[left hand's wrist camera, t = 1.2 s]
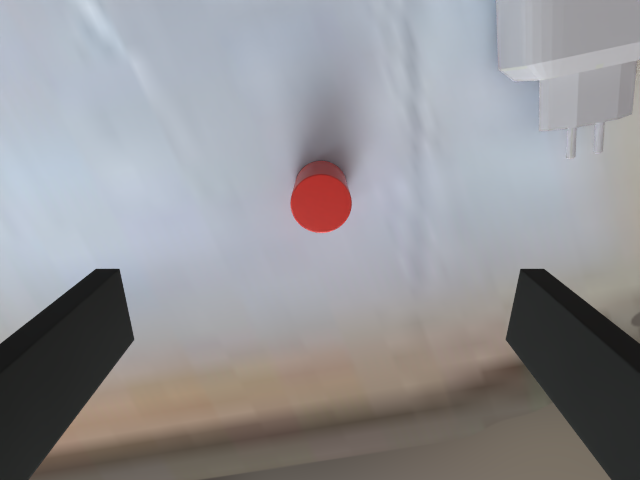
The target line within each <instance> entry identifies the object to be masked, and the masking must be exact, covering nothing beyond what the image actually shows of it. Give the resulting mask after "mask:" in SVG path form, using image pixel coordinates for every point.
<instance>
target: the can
mask: <svg viewBox="0 0 640 480" xmlns="http://www.w3.org/2000/svg"><path fill="white" fill-rule="evenodd" d="M351 206H352V201H351V196H350V192H349V189H348V185H347V182H346V178H345V176H344V174H343V172H342V171H341V169H340V168H339V167H337V166H336V165H335V164H333V163H330V162H327V161H315V162H311V163H309V164H308V165H306V166H305V167H303V168H302V170H301V171H300V172H299V174H298V176H297V178H296V182H295V185H294V189H293V192H292V196H291V211H292V214H293V216H294V218H295V219H296V221H297V222H298V223H299V224H300V225H301V226H302V227H304V228H305V229H307V230H309V231H312V232H316V233H325V232H330V231H333V230H335V229H337V228H339V227H340V226H341V225H342V224H343V223H344V222H345V221H346V220H347V218H348V216H349V214H350V211H351Z"/></svg>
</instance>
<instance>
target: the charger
mask: <svg viewBox="0 0 640 480" xmlns="http://www.w3.org/2000/svg"><path fill="white" fill-rule="evenodd" d="M496 17H497V52H498V70H500V71H501V72H502V73H503V74H505V75H506V76H507V77H509V78H510V79H511V80H512V81H514V82H518V81H538V80H539V131H552V130H560V129H567V149H566V158H568V159H573V158H574V157H575V153H576V130H577V127H582V126H587V125H592V124H595V132H594V149H593V152H594V153H596V154H599V153H601V152H602V151H603V140H604V125H605V122H607V121H612V120H617V119H620V118H622V117H625V116H628V115H631V114H632V109H633V99H634V88H635V77H636V66H637V60H640V0H496Z"/></svg>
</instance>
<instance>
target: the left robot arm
mask: <svg viewBox="0 0 640 480" xmlns="http://www.w3.org/2000/svg"><path fill="white" fill-rule="evenodd" d="M133 341H134V336H133V331H132V326H131V322H130V317H129V312H128V307H127V303H126V298H125V293H124V288H123V284H122V279H121V274H120V269H95V270H94V271H93V272H91V273H90V274H89V275H88V276H86V277H85V278H84V279H83V280H81V281H80V282H79V283H77V284H76V285H75V286H74V287H72V288H71V289H70V290H68V291H67V292H66V293H65V294H63V295H62V296H61V297H60V298H58V299H57V300H56V301H54V302H53V303H52V304H51V305H49V306H48V307H47V308H45V309H44V310H43V311H42V312H40V313H39V314H38V315H37V316H35V317H34V318H33V319H31V320H30V321H29V322H28V323H26V324H25V325H24V326H22V327H21V328H20V329H19V330H17V331H16V332H15V333H14V334H12V335H11V336H10V337H8V338H7V339H6V340H5V341H3V342H2V343H1V344H0V480H29V478H30V477H31V476H32V474H33V473H34V472H35V470H36V469H37V468H38V466H39V465H40V464H41V462H42V461H43V460H44V458H45V457H46V456H47V454H48V453H49V452H50V451H51V449H52V448H53V447H54V445H55V444H56V443H57V441H58V440H59V439H60V437H61V436H62V435H63V433H64V432H65V431H66V429H67V428H68V427H69V425H70V424H71V423H72V421H73V420H74V419H75V417H76V416H77V415H78V413H79V412H80V411H81V409H82V408H83V407H84V405H85V404H86V403H87V402H88V400H89V399H90V398H91V396H92V395H93V394H94V392H95V391H96V390H97V388H98V387H99V386H100V384H101V383H102V382H103V380H104V379H105V378H106V376H107V375H108V374H109V372H110V371H111V370H112V368H113V367H114V366H115V364H116V363H117V362H118V360H119V359H120V358H121V356H122V355H123V354H124V353H125V351H126V350H127V349H128V347H129V346H130V345H131V343H132V342H133ZM506 341H507V342H508V343H509V345H510V346H511V347H512V349H513V350H514V351H515V353H516V354H517V355H518V356H519V358H520V359H521V360H522V362H523V363H524V364H525V366H526V367H527V368H528V370H529V371H530V372H531V374H532V375H533V376H534V378H535V379H536V380H537V382H538V383H539V384H540V386H541V387H542V388H543V390H544V391H545V392H546V394H547V395H548V396H549V398H550V399H551V400H552V402H553V403H554V404H555V405H556V407H557V408H558V409H559V411H560V412H561V413H562V415H563V416H564V417H565V419H566V420H567V421H568V423H569V424H570V425H571V427H572V428H573V429H574V431H575V432H576V433H577V435H578V436H579V437H580V439H581V440H582V441H583V443H584V444H585V445H586V447H587V448H588V449H589V451H590V452H591V453H592V454H593V456H594V457H595V458H596V460H597V461H598V462H599V464H600V465H601V466H602V468H603V469H604V470H605V472H606V473H607V474H608V476H609V477H610V478H611V480H640V344H639V343H638V342H637V341H635V340H634V339H633V338H632V337H630V336H629V335H628V334H626V333H625V332H624V331H623V330H621V329H620V328H619V327H618V326H616V325H615V324H614V323H612V322H611V321H610V320H609V319H607V318H606V317H605V316H603V315H602V314H601V313H600V312H598V311H597V310H596V309H595V308H593V307H592V306H591V305H589V304H588V303H587V302H586V301H584V300H583V299H582V298H580V297H579V296H578V295H577V294H575V293H574V292H573V291H572V290H570V289H569V288H568V287H566V286H565V285H564V284H563V283H561V282H560V281H559V280H557V279H556V278H555V277H554V276H552V275H551V274H550V273H549V272H547V271H546V270H545V269H520V274H519V279H518V284H517V288H516V293H515V298H514V303H513V307H512V312H511V317H510V322H509V326H508V331H507V336H506Z"/></svg>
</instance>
